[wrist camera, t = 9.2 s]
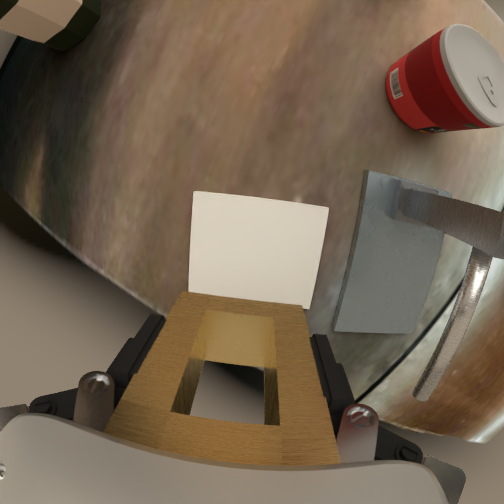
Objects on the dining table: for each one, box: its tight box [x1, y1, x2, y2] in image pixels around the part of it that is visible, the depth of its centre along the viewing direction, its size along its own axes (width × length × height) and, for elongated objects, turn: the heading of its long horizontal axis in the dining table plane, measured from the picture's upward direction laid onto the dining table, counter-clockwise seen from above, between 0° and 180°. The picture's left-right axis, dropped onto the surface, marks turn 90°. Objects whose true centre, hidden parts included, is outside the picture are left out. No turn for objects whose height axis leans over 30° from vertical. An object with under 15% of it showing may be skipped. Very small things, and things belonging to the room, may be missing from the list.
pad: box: [189, 191, 329, 309], centre depth 25 cm, size 12×10×1 cm
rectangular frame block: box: [103, 291, 341, 466], centre depth 10 cm, size 6×3×9 cm, turn 83°
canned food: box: [385, 24, 504, 133], centre depth 15 cm, size 8×8×11 cm
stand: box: [332, 170, 504, 402], centre depth 18 cm, size 10×16×14 cm, turn 173°
